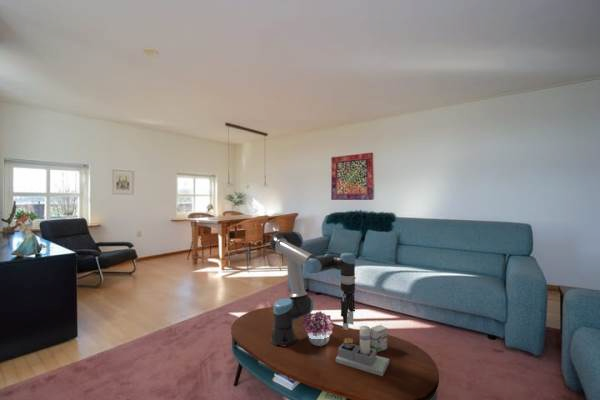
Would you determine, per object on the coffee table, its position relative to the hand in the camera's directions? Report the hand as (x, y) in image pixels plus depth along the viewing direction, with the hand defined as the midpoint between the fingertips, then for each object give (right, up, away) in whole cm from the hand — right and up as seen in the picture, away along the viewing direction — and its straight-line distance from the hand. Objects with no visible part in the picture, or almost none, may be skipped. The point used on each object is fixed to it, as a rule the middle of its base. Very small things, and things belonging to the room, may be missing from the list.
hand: (348, 326), depth 150 cm
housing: (+7, -17, -4) cm, 19 cm away
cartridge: (+8, -15, -5) cm, 17 cm away
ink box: (+19, -17, +10) cm, 27 cm away
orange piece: (0, -12, 0) cm, 12 cm away
